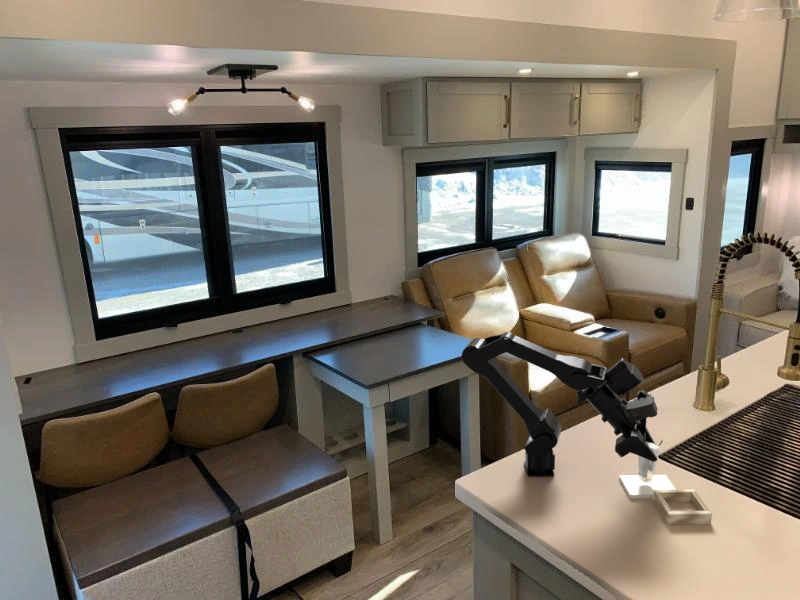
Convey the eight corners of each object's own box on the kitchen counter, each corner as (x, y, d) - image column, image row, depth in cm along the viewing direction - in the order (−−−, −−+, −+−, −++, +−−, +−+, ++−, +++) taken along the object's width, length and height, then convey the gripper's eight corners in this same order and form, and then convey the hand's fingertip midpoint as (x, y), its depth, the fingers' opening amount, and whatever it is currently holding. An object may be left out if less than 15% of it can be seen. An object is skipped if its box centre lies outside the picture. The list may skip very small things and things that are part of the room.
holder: (668, 524, 131) (669, 514, 130) (652, 499, 139) (653, 490, 139) (710, 523, 130) (712, 513, 130) (692, 498, 139) (693, 489, 138)
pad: (630, 498, 140) (630, 494, 140) (619, 479, 148) (619, 475, 147) (678, 497, 139) (679, 493, 139) (665, 478, 147) (665, 474, 147)
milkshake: (663, 483, 141) (666, 445, 138) (640, 484, 141) (643, 445, 138) (654, 473, 145) (658, 435, 143) (632, 474, 145) (635, 436, 143)
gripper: (634, 403, 130) (686, 458, 129) (638, 370, 146) (684, 419, 145) (594, 430, 135) (643, 483, 134) (602, 395, 151) (646, 442, 150)
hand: (656, 455), depth 141 cm, fingers closed on milkshake, 4 cm apart
